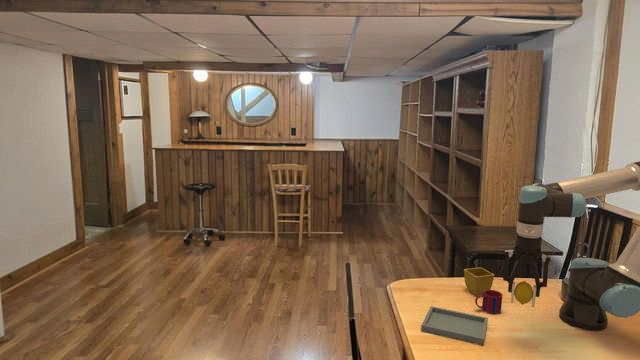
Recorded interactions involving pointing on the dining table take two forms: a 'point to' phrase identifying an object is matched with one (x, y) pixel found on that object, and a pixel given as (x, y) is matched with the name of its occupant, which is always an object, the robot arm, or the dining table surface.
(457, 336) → the tray
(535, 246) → the robot arm
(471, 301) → the dining table surface
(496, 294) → the mug
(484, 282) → the flower pot
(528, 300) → the lemon
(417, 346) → the dining table surface
